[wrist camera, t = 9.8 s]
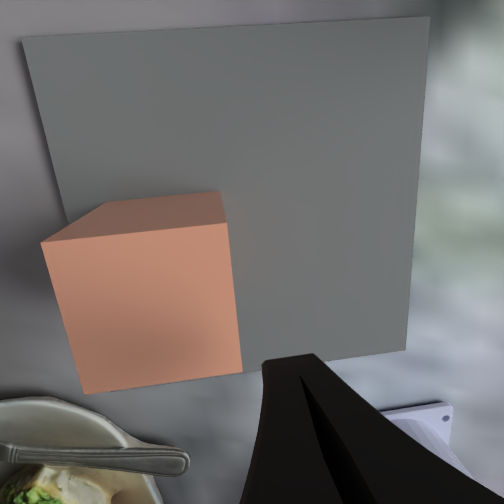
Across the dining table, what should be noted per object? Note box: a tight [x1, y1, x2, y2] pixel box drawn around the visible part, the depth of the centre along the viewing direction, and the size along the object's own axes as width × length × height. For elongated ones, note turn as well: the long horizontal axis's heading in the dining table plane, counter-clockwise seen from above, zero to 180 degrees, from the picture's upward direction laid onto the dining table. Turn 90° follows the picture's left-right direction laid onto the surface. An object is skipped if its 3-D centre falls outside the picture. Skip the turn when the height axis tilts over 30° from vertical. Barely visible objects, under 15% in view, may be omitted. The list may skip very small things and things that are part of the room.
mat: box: [21, 16, 431, 392], centre depth 17 cm, size 17×17×1 cm
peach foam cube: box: [41, 191, 243, 395], centre depth 14 cm, size 5×5×7 cm
